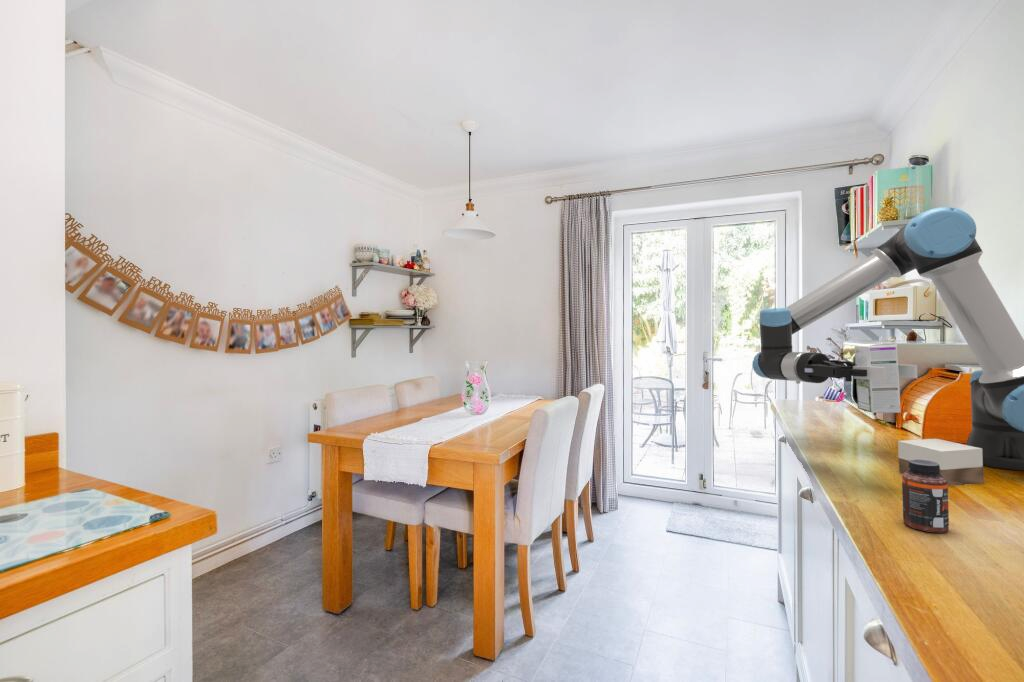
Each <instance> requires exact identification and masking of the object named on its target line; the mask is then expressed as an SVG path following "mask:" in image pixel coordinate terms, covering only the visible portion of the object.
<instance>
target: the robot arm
mask: <svg viewBox="0 0 1024 682" xmlns="http://www.w3.org/2000/svg"><path fill="white" fill-rule="evenodd" d="M976 236H977V224H976V222H975V220H974V218H973V217H972V216H971V215H970V214H969V213H968V212H966V211H964V210H962V209H960V208H957V207H956V208H955V207H950V206H940V207H935V208H931V209H928V210H925V211H923V212H921V213H918V215H915V216H914V217H912V218H911V219H910V220H909V222H907V223H906V224H905V225H903V227H901V228H900V229H899V230H898V231H897V232H896V233H895V234H894V235H892V236H891V237H890V238H889V239H888V240H886V241H885V242H883V243H882V244H880V245H879V246H877V247H876V248H874V249H873V250H872V251H873V252H872V254H871V255H870V256H868V257H867V258H865V259H864V260H861V261H860V262H858V263H857V264H855V265H853V266H852V267H850V268H849V269H847V270H845V271H844V272H842V273H840V274H838V275H837V276H835V277H833V278H832V279H831V280H829V281H827V282H825V283H823V284H822V285H820V286H819V287H817V288H816V289H814V290H812V291H811V292H810V293H809V292H808V293H807V294H806V295H804V296H802V297H801V298H799V299H798V300H796V301H795V302H793V303H791V304H789V305H788V306H786V307H777V308H776V307H775V308H765V309H761V310H760V312H759V331H760V332H759V334H760V335H759V336H760V352H758V353H757V354H755V355H754V356H753V360H752V364H751V365H752V369H753V371H754V373H755V374H756V375H758V376H759V377H761V378H765V379H770V380H781V381H794V382H795V384H801V382H805V383H811V384H822V383H824V382H826V381H827V380H828V379H829V378H831V379H832V378H833V379H839V380H840V379H845V382H852V381H853V380H852V379H855V380H856V379H867V380H880V381H886V367H870V366H856V363H855V362H854V361H853V362H852V361H849V360H847V361H846V360H845V361H844V360H842V361H841V360H839V359H832V360H831V359H829V357H828V356H827V355H826V354H824V353H821V352H806V351H805V352H804V351H793V335H794V334H796V333H798V332H799V331H800V330H803V329H804V328H806V327H807V326H809V325H811V324H812V323H814V322H816V321H818V320H820V319H822V318H823V317H826V316H827V315H828V314H830V313H832V312H834V311H835V310H838V309H839V308H840V307H842V306H844V305H845V304H848V303H849V302H852V300H854V299H857V298H858V297H859V296H862V295H863V294H864V293H867V292H868V291H870V290H872V289H874V288H876V287H877V286H878V285H881V284H883V283H884V282H886V281H888V280H890V279H891V278H901V277H902V276H904V275H906V274H908V273H910V272H911V271H914V270H916V271H917V273H918V275H919V276H920V277H922V278H927V279H929V280H930V281H932V282H931V283H933V285H934V287H935V289H936V291H937V292H938V293H939V296H940V297H941V300H942V302H943V303H944V305H945V306H946V308H947V310H948V311H949V313H950V315H951V317H952V318H953V320H954V322H955V324H956V325H957V327H958V330H959V331H960V333H961V335H962V336H963V338H964V340H965V342H966V343H967V346H968V347H969V349H970V351H971V352H972V354H973V355H974V358H975V359H976V362H977V363H978V365H979V367H980V368H981V369H979V370H974V371H973V372H972V373H971V374H970V381H969V386H970V405H971V409H970V411H971V430H970V433H969V435H968V437H967V439H966V440H967V441H966V443H965V445H968V446H973V447H978V448H982V456H983V466H986V467H991V468H996V469H1005V470H1012V471H1013V470H1014V471H1024V337H1023V335H1022V334H1021V333H1020V331H1019V330H1018V328H1017V325H1016V324H1015V322H1014V320H1013V318H1012V317H1011V315H1010V314H1009V312H1008V310H1007V308H1006V307H1005V306H1004V303H1003V302H1002V300H1001V298H1000V297H999V295H998V293H997V292H996V290H995V288H994V287H993V285H992V283H991V281H990V280H989V278H988V276H987V275H986V273H985V271H984V270H983V267H982V266H981V265H980V261H979V260H980V258H981V256H982V255H983V253H984V251H983V249H982V248H981V246H980V244H979V243H978V240H977V238H976ZM898 369H899V378H903V379H905V378H907V379H919V378H918V365H917V364H901V363H900V364H899V363H898Z"/></svg>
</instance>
